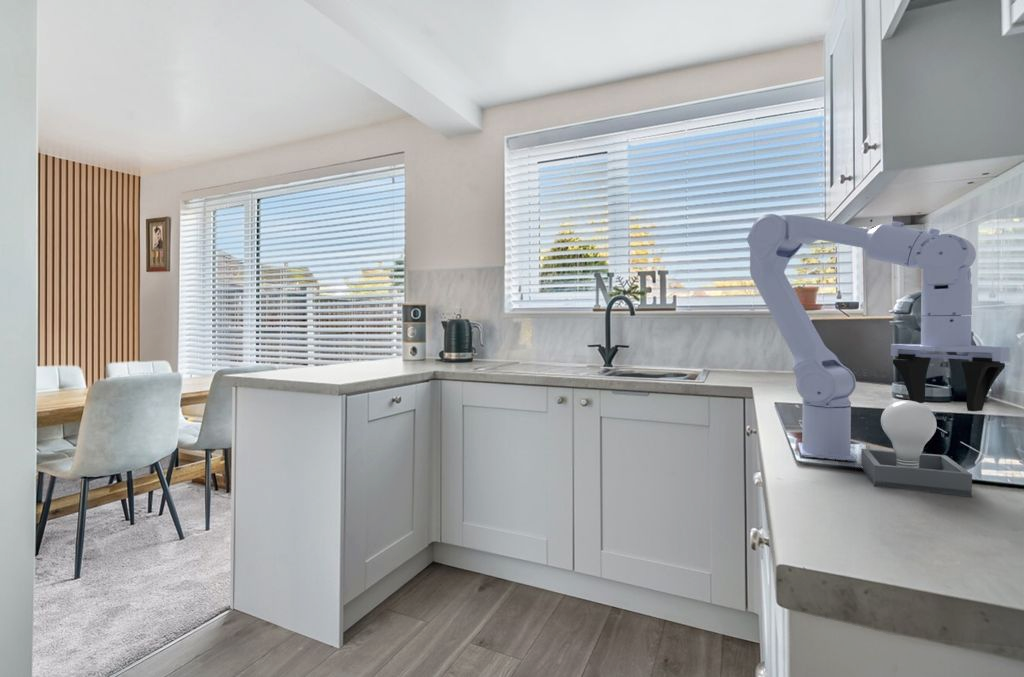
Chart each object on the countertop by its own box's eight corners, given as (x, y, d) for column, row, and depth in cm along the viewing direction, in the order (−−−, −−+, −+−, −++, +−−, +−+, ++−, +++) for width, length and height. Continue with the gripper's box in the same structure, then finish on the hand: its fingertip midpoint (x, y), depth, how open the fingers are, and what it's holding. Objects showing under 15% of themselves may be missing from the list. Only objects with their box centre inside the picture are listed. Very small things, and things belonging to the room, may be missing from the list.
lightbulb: (945, 484, 69) (946, 404, 69) (891, 480, 71) (891, 403, 71) (923, 471, 75) (923, 398, 75) (873, 468, 77) (874, 396, 77)
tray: (861, 467, 81) (861, 448, 81) (945, 475, 76) (946, 455, 76) (874, 486, 71) (874, 465, 71) (971, 496, 67) (972, 474, 67)
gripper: (877, 317, 81) (877, 401, 81) (987, 315, 67) (985, 416, 68) (908, 316, 83) (907, 398, 84) (1020, 314, 69) (1018, 413, 70)
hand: (944, 406), depth 76 cm, fingers open, 7 cm apart
